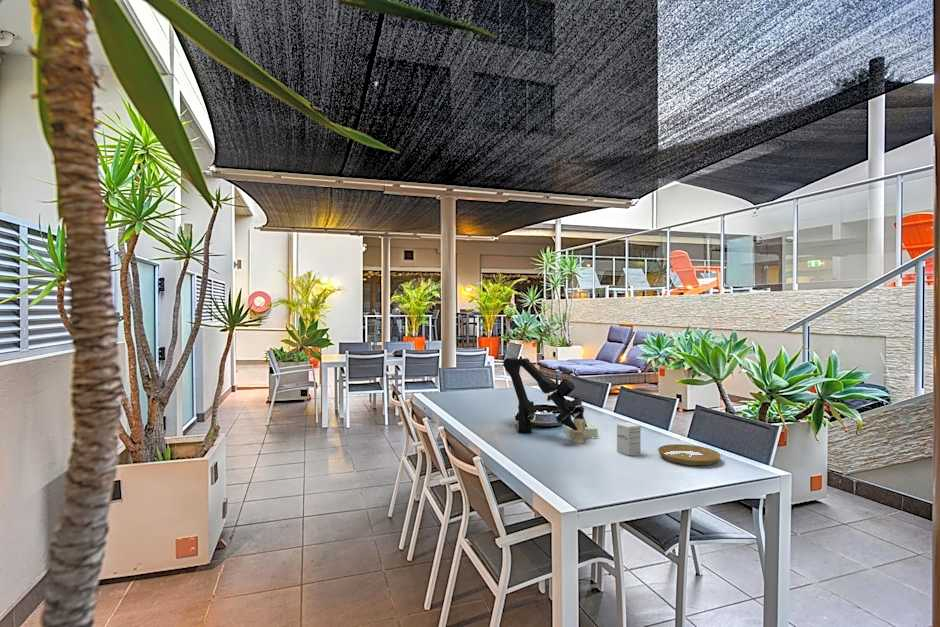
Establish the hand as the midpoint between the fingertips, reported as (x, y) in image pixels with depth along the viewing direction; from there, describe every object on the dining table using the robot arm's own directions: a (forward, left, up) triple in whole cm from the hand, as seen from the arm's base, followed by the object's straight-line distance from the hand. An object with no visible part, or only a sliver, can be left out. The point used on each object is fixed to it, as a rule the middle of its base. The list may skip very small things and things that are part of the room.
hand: (581, 428), depth 231 cm
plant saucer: (+38, -27, -7) cm, 47 cm away
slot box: (+3, +15, -7) cm, 17 cm away
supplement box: (+16, -17, -7) cm, 25 cm away
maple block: (-1, +1, -7) cm, 7 cm away
